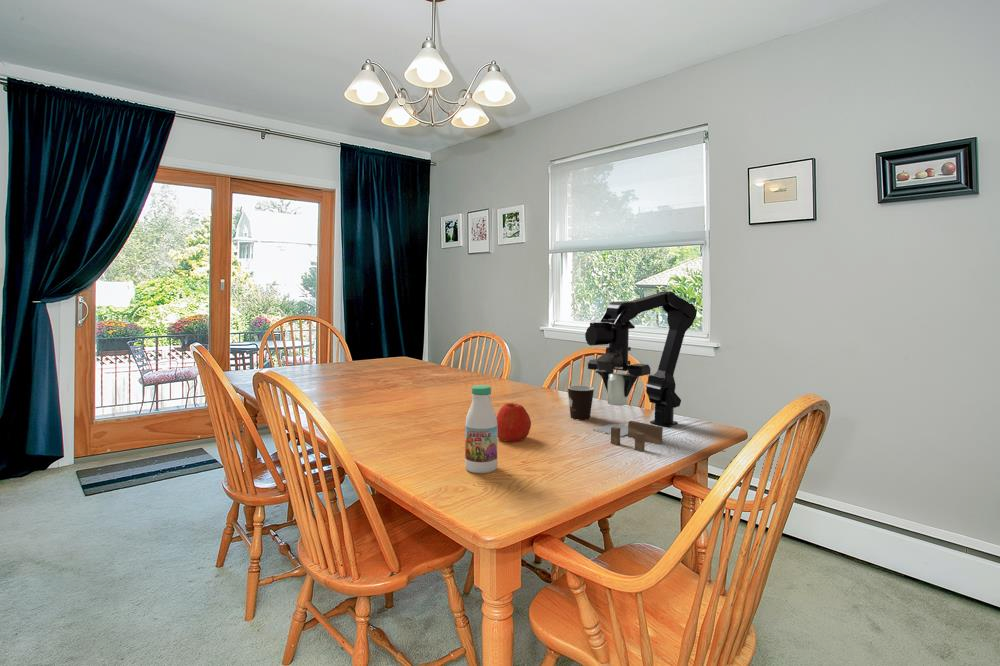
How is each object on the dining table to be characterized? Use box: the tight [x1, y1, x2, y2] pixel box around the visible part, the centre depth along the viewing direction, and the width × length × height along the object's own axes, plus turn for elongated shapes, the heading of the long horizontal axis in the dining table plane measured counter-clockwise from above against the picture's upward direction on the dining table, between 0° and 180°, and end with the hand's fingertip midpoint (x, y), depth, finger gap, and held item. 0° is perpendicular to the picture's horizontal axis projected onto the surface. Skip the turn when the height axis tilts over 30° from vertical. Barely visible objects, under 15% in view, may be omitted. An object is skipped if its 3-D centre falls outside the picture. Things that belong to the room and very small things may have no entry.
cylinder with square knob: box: [606, 372, 628, 407], centre depth 157 cm, size 7×6×9 cm
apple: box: [496, 402, 532, 443], centre depth 150 cm, size 10×10×10 cm
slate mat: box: [592, 423, 628, 438], centre depth 159 cm, size 10×10×1 cm
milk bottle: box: [464, 384, 498, 474], centre depth 125 cm, size 8×8×20 cm
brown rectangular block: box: [610, 420, 664, 452], centre depth 146 cm, size 11×10×4 cm
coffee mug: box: [567, 385, 595, 421], centre depth 176 cm, size 12×9×10 cm
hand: (617, 395), depth 158 cm, fingers closed on cylinder with square knob, 6 cm apart
